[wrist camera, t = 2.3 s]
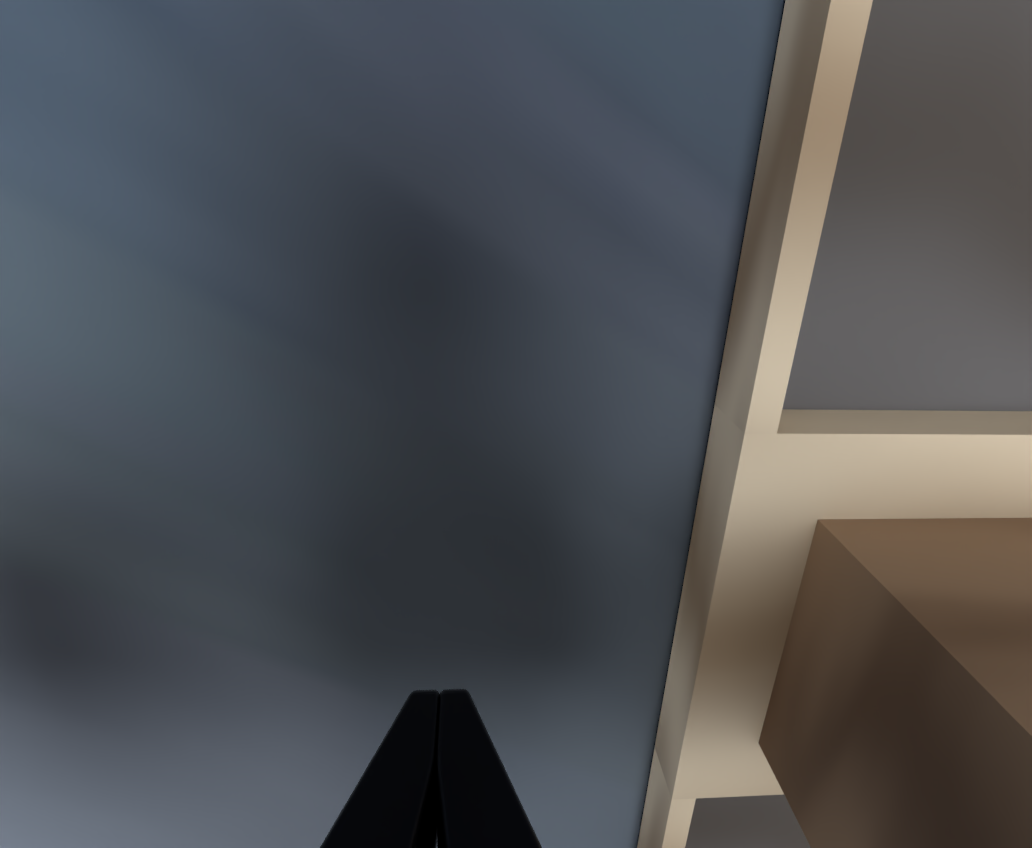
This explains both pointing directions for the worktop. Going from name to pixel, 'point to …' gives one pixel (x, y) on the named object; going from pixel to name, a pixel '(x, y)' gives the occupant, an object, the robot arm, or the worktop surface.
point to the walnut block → (909, 686)
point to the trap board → (851, 359)
